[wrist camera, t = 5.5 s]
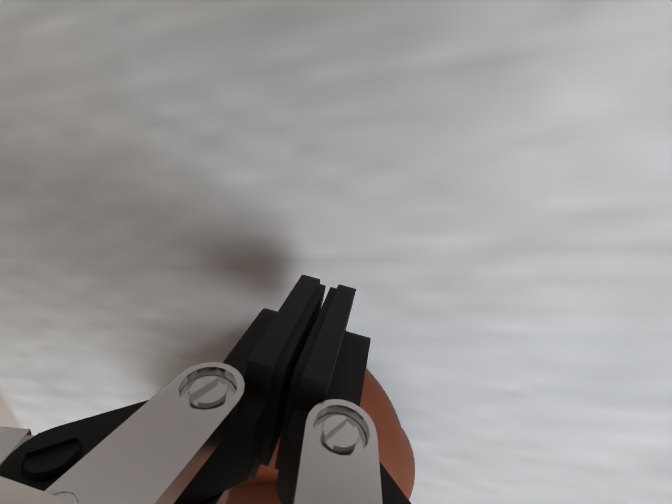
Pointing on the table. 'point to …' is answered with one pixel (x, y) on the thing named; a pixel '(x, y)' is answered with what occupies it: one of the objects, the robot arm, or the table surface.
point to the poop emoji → (393, 446)
